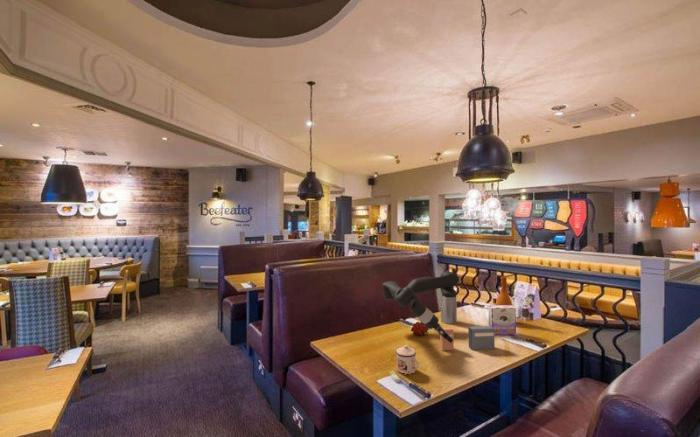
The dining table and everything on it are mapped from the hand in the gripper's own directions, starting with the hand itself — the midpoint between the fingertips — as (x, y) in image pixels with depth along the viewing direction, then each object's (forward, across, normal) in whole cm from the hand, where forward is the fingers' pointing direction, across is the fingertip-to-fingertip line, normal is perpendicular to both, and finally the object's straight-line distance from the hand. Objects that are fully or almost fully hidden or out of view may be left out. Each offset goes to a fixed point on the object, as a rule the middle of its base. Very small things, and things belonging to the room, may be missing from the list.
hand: (450, 339), depth 173 cm
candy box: (+30, -19, +23) cm, 42 cm away
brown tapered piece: (+38, -38, +30) cm, 61 cm away
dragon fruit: (-4, -21, -12) cm, 24 cm away
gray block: (+16, 0, +8) cm, 18 cm away
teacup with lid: (-15, +22, -23) cm, 36 cm away
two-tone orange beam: (+2, 0, -5) cm, 5 cm away
